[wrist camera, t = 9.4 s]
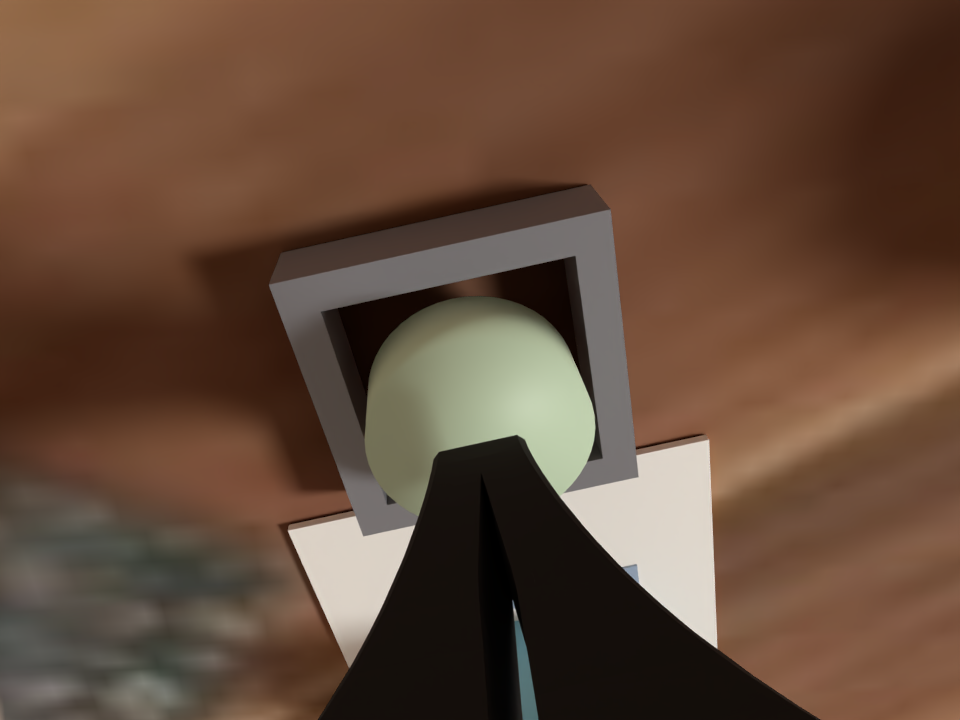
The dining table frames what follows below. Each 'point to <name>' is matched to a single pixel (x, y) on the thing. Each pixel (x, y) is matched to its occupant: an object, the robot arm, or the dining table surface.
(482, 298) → the button
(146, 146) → the dining table surface
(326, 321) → the button housing
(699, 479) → the paper
